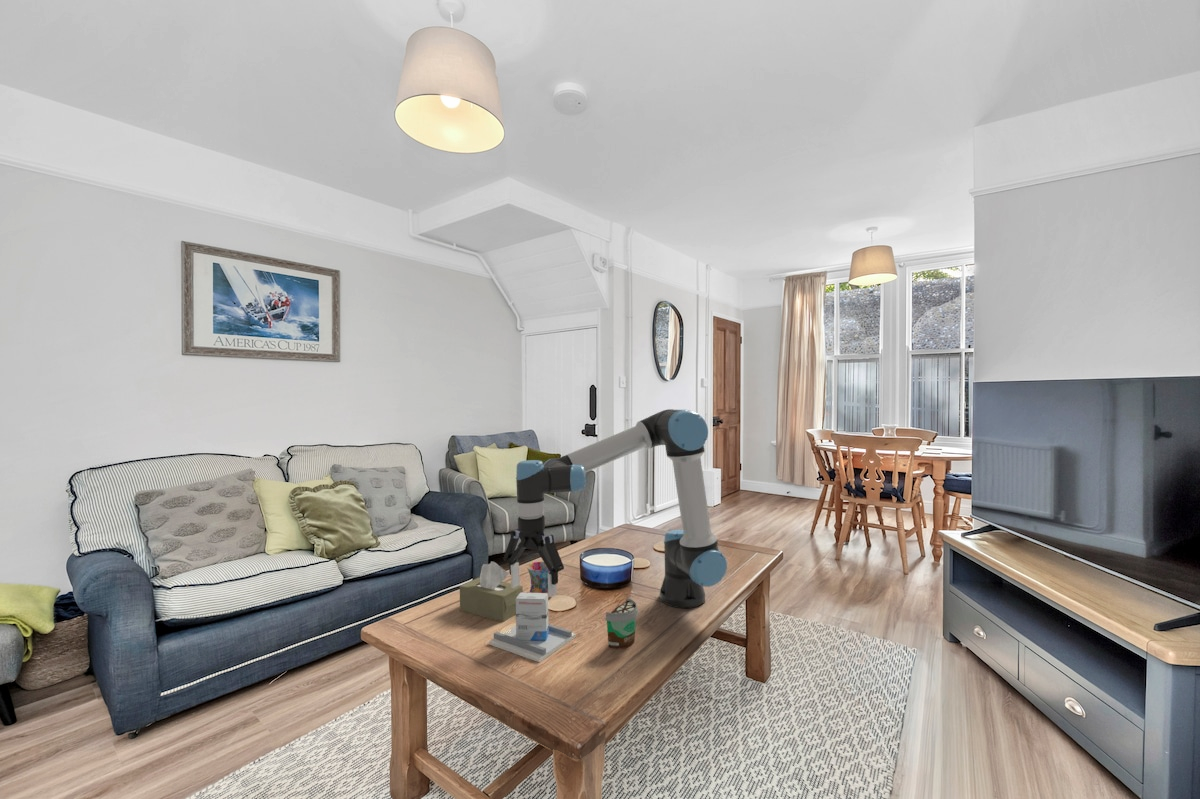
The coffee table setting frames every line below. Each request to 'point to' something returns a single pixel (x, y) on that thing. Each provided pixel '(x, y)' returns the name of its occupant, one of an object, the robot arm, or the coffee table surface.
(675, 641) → the coffee table surface
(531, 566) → the mug
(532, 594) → the ink box
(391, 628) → the coffee table surface
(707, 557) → the robot arm
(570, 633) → the rail mount
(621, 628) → the food container
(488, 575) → the tissue box
